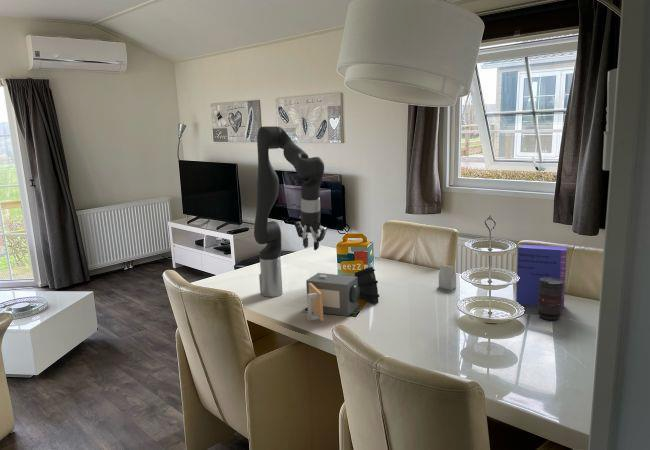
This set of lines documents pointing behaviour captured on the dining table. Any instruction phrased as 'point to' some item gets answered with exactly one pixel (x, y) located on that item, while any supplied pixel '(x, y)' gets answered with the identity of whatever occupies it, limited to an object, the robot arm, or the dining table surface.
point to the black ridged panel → (368, 285)
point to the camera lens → (550, 299)
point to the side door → (314, 303)
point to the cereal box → (538, 271)
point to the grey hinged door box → (337, 292)
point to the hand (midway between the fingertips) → (310, 248)
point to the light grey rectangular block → (447, 277)
